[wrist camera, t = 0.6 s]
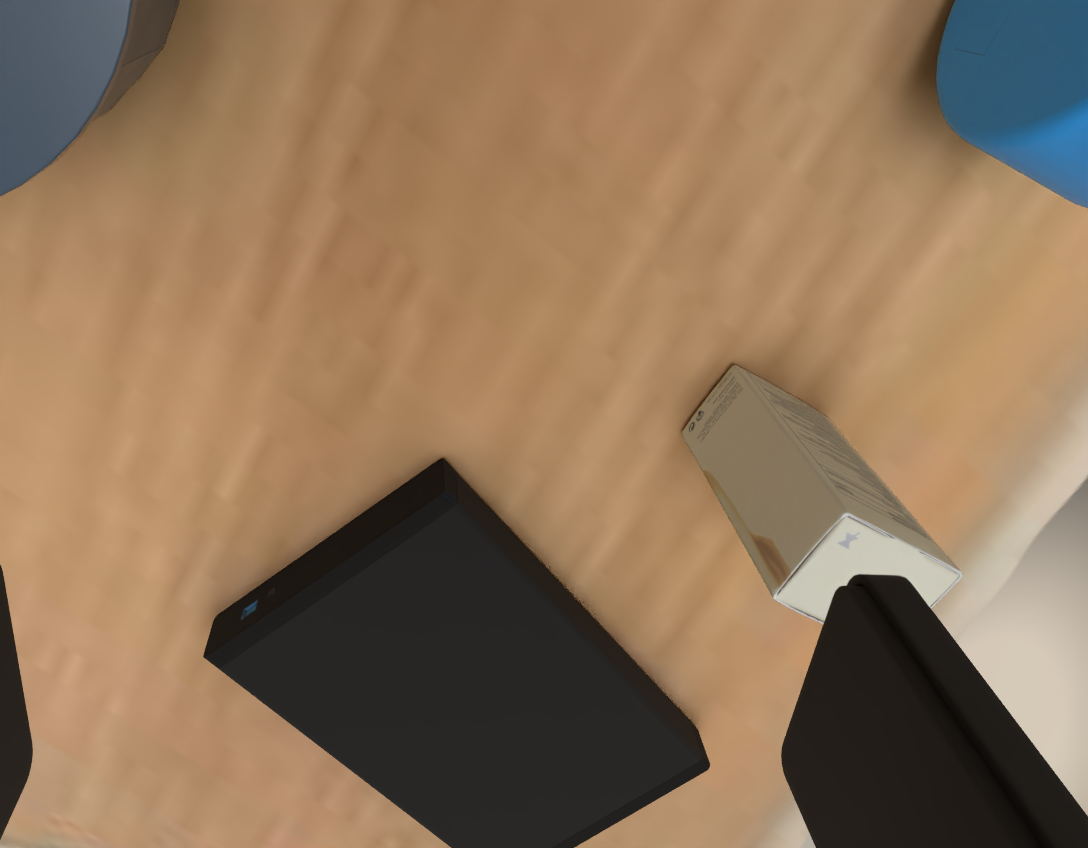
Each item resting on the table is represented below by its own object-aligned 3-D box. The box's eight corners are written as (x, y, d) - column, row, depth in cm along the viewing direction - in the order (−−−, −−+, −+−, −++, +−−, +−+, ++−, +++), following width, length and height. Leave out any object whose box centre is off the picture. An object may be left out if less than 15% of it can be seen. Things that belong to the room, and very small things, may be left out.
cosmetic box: (676, 432, 43) (761, 598, 33) (732, 358, 42) (840, 507, 31) (779, 487, 46) (889, 659, 35) (835, 419, 44) (969, 577, 33)
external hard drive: (497, 843, 55) (502, 889, 53) (213, 616, 45) (201, 658, 42) (696, 726, 53) (711, 767, 50) (442, 455, 42) (444, 490, 40)
